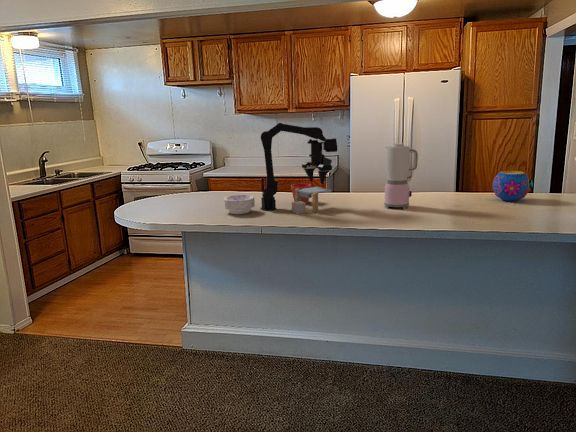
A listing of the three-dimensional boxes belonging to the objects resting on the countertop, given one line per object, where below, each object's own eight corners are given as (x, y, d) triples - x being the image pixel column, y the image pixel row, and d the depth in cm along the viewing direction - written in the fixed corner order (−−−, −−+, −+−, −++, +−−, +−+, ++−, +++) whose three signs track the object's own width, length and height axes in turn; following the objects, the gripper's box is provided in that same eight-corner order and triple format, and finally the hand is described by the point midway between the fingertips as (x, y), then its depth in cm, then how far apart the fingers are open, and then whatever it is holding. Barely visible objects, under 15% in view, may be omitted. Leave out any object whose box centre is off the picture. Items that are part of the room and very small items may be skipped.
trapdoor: (310, 198, 216) (310, 192, 216) (297, 195, 226) (296, 189, 226) (331, 195, 223) (331, 189, 223) (317, 192, 233) (317, 186, 232)
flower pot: (304, 205, 236) (303, 187, 234) (287, 203, 243) (287, 185, 240) (315, 201, 244) (314, 184, 242) (299, 199, 251) (298, 182, 249)
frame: (315, 213, 216) (314, 193, 214) (295, 207, 230) (295, 188, 228) (318, 212, 217) (318, 192, 215) (298, 207, 231) (298, 188, 229)
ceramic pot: (535, 203, 224) (538, 174, 221) (500, 204, 225) (502, 174, 221) (518, 196, 241) (521, 169, 238) (485, 197, 242) (488, 170, 238)
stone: (297, 213, 217) (297, 203, 215) (291, 212, 221) (291, 202, 220) (305, 212, 219) (305, 202, 218) (300, 210, 223) (299, 201, 222)
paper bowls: (227, 217, 214) (226, 201, 212) (222, 210, 228) (221, 195, 227) (257, 214, 218) (257, 198, 216) (251, 208, 232) (251, 193, 231)
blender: (383, 209, 221) (385, 144, 213) (383, 204, 232) (385, 142, 225) (416, 209, 217) (419, 144, 210) (414, 204, 229) (417, 142, 222)
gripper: (340, 152, 220) (340, 183, 224) (318, 150, 235) (318, 179, 239) (322, 154, 214) (322, 185, 218) (301, 151, 230) (301, 181, 233)
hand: (316, 182), depth 227 cm, fingers open, 9 cm apart
